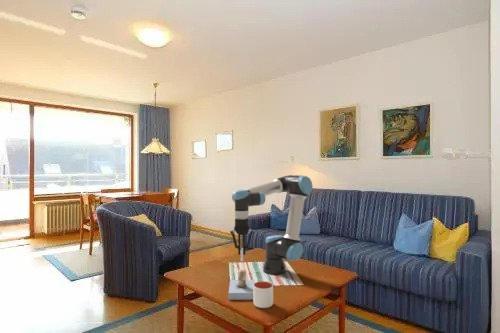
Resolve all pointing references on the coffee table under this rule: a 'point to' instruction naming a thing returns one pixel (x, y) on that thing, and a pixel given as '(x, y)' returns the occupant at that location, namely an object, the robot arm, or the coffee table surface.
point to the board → (240, 290)
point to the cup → (263, 294)
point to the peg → (241, 278)
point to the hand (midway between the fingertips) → (241, 260)
